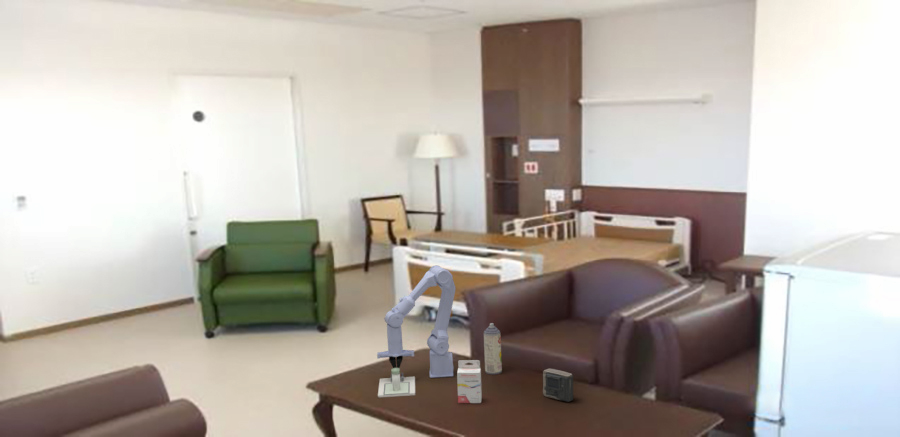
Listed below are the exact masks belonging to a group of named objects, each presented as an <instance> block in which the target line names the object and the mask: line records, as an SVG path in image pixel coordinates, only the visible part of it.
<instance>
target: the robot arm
mask: <svg viewBox="0 0 900 437" xmlns="http://www.w3.org/2000/svg"><path fill="white" fill-rule="evenodd" d="M437 286H438V287H439V288H440V289H441V292H440V293H441V295H440V297H439V303H438V309H437V313H436V318H435V323H434V328H433V329H432V330H431V332H430V335H429V337H428V338H427V341H426V345H427V347H428V348H429V367H430V368H429V371H428V372H429V378H433V379H434V378H447V377H454V370H455V369H454V367H455V366H454V363H453V362H454V360H453V352H451V351H449V348H450V344H449V334H448V329H449V325H450V319H451V313H452V309H453V305H454V299H455V296H456V295H455V294H456V289H457V288H456V285H455V282H454V279H453V274H452V273H451V272H450V271H449V270H448V269H446V268H444V267H442V266H440V265H432V266H431V267H430V268H429V270H427V271H426V272H425V274H424V275H423V277H422V278H421V279H420V281H419V282H418V283H417V284H416V285H415V287H414V288H413V290H412V291H410V294H408V295H406V296H405V295H404V296H403V297H400V298H399V300H398V302H397V304H396V305H395V306H394V307H392V308H391V310H389V311H387V312H386V314H385V317H384V318H383V319H384V322H385V323H386V334H387V335H386V336H387V349H388V350H384V351H378V352H377V353H376V356H377V359H384V358H385V359H386V358H388V360H389V363H390V364H391V366H392V367H391V368H400V367H401V364H402V362H403V360H404V359H403V358H404V357H415V349H403V348H404V347H403V332H402V331H403V330H402V325H403V323H404V318H405V317H407V315H408V314H409V313H410V312H412V309H413V308H414V307H415V306H416V301H417V300H418V299H419V298H420V297H421V296H422V295H423V294H424V293H425V292H426V291H427V290H428V289H429V288H432V287H437ZM400 369H401V368H400Z"/></svg>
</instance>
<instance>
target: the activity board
mask: <svg viewBox="0 0 900 437" xmlns="http://www.w3.org/2000/svg"><path fill="white" fill-rule="evenodd" d="M400 374H401V377H400V386H401V389H400V390H398V391H394V390H393V384H392V373H390V377H388V378H387V377H386V378H385V377H384V378H379V383H378V392H377V398H391V397H394V398H395V397H407V396H409V397H410V396H416V377H415V376H404V372H400Z"/></svg>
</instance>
